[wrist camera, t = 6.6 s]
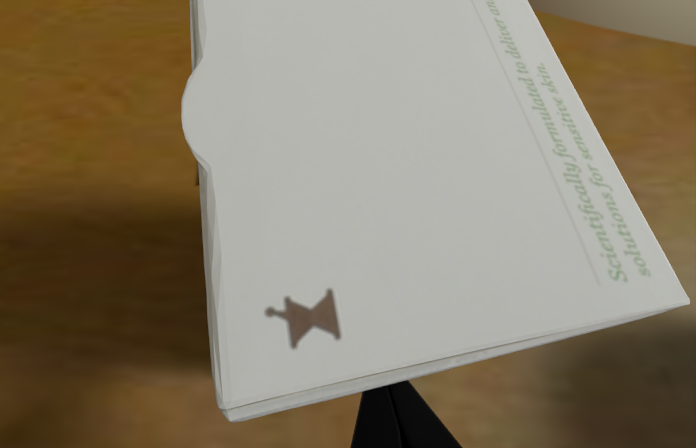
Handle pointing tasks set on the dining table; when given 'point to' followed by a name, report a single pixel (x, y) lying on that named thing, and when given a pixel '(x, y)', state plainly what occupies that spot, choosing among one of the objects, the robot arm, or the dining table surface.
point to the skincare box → (398, 196)
